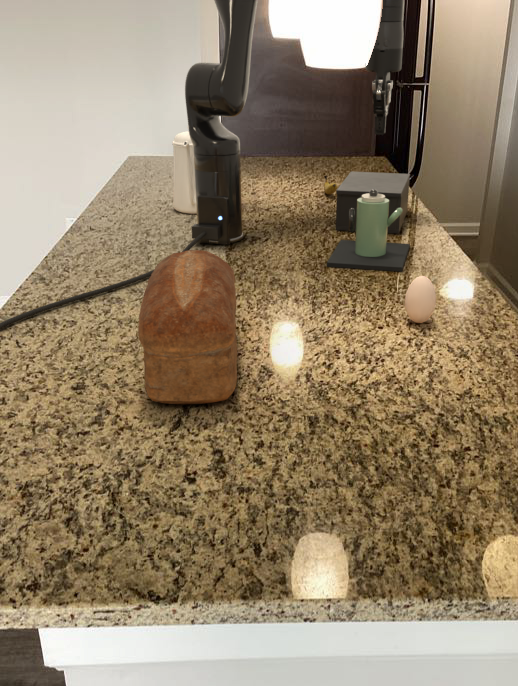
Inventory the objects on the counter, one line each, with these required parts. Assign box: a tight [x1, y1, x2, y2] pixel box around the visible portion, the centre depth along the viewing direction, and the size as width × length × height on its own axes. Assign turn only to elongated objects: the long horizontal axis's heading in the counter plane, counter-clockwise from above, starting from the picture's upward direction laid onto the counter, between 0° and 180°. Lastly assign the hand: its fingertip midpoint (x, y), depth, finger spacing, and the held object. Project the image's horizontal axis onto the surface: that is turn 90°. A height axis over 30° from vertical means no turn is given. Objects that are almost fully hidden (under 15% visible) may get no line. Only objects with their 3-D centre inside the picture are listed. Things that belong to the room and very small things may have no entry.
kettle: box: [348, 189, 403, 257], centre depth 149 cm, size 10×6×12 cm, turn 78°
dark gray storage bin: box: [335, 177, 411, 234], centre depth 175 cm, size 20×14×8 cm
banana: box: [323, 175, 338, 196], centre depth 198 cm, size 10×2×4 cm, turn 10°
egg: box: [404, 275, 437, 324], centre depth 120 cm, size 5×5×7 cm
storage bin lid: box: [335, 170, 411, 197], centre depth 172 cm, size 20×14×1 cm, turn 167°
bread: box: [137, 249, 238, 405], centre depth 105 cm, size 12×31×14 cm, turn 4°
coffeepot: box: [172, 125, 197, 215], centre depth 181 cm, size 11×25×19 cm, turn 179°
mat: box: [326, 239, 411, 273], centre depth 152 cm, size 16×14×1 cm
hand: (379, 134), depth 172 cm, fingers closed
